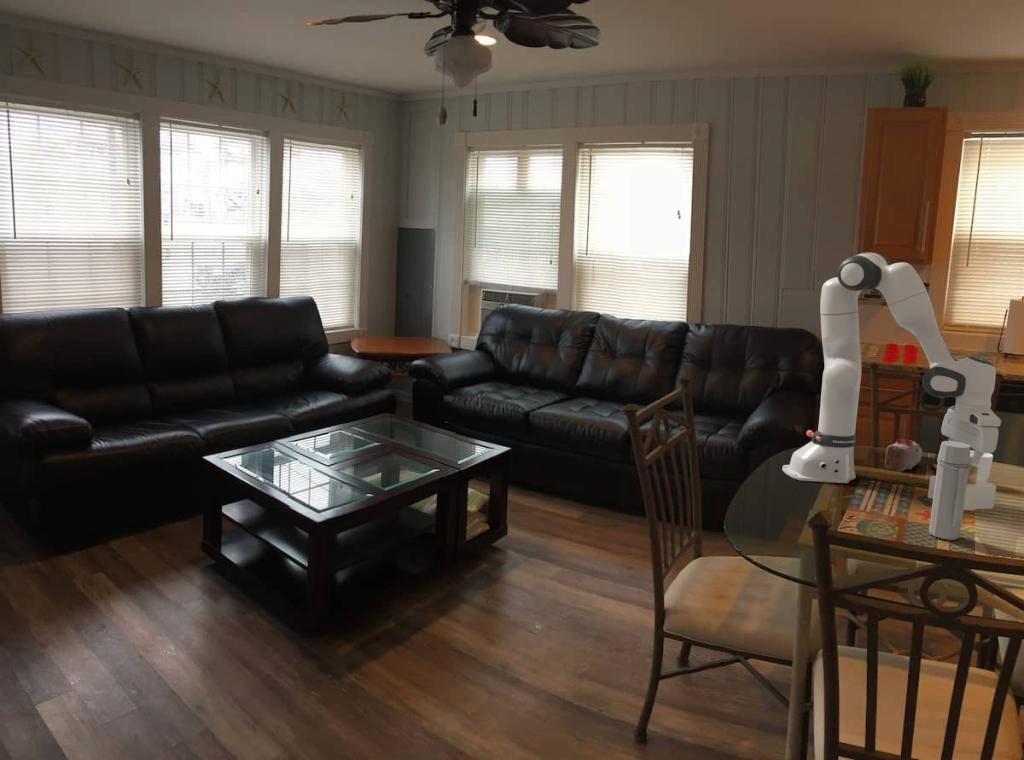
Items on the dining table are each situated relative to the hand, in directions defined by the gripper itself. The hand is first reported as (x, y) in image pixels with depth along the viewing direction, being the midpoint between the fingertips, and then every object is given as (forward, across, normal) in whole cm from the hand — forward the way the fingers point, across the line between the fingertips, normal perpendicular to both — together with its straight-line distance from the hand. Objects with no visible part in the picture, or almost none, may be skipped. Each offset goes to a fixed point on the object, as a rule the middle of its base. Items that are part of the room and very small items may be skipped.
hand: (963, 458), depth 231 cm
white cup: (+13, -16, +17) cm, 27 cm away
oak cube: (+7, +1, 0) cm, 7 cm away
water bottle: (+14, +27, -20) cm, 36 cm away
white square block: (+14, +1, +1) cm, 14 cm away
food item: (+14, -34, +3) cm, 37 cm away
